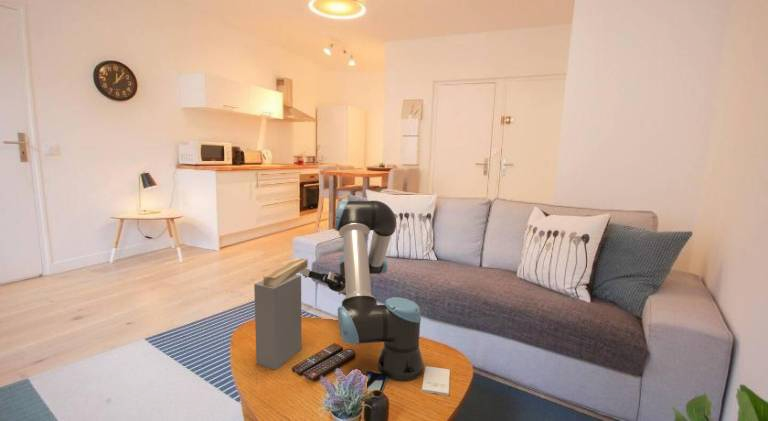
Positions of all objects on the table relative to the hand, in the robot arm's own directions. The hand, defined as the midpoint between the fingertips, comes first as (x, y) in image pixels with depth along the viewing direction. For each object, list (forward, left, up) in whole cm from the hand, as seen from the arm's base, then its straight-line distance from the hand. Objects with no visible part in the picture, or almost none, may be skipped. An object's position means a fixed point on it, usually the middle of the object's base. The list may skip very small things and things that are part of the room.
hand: (314, 272), depth 144 cm
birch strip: (+1, +15, +3) cm, 16 cm away
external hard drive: (-53, +9, -25) cm, 59 cm away
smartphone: (-36, +21, -25) cm, 49 cm away
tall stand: (0, +20, -25) cm, 32 cm away
